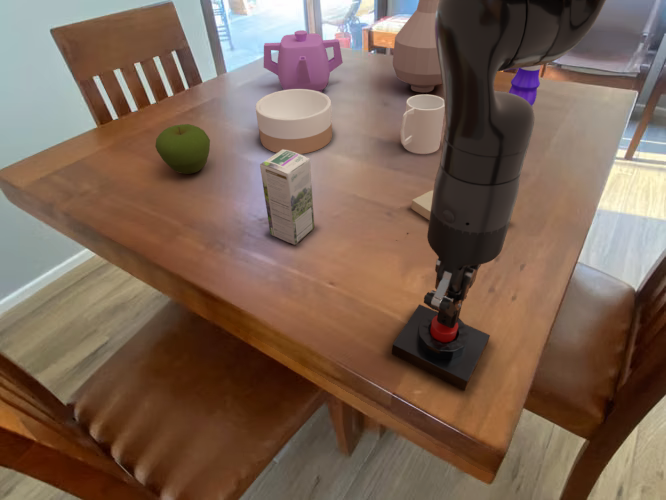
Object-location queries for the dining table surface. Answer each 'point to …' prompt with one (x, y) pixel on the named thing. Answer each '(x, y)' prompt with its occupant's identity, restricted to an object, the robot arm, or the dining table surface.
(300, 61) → the teapot
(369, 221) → the dining table surface
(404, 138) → the cup
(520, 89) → the bottle
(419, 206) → the hob panel
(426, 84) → the vase
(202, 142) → the apple
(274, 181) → the syrup box
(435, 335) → the button
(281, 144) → the bowl
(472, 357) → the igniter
